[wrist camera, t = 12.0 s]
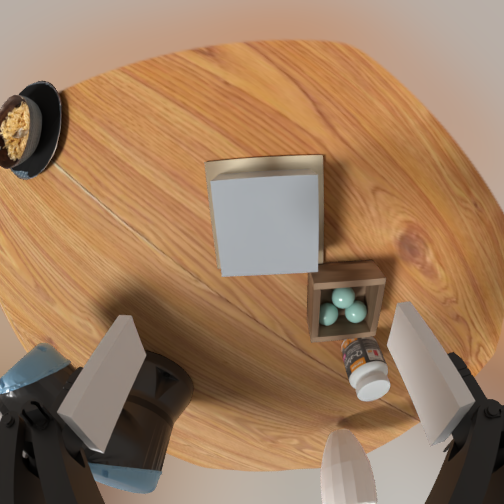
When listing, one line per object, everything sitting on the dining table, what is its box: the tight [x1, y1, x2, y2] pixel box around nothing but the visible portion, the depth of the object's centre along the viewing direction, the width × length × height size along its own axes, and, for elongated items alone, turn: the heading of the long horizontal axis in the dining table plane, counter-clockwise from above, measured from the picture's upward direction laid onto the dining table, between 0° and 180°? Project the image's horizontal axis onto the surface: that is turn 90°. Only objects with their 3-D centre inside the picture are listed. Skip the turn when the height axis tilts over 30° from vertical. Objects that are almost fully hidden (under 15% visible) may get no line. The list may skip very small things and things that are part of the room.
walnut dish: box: [307, 260, 386, 343], centre depth 33 cm, size 9×9×5 cm
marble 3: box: [345, 300, 367, 323], centre depth 34 cm, size 3×3×3 cm
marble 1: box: [319, 303, 338, 326], centre depth 35 cm, size 3×3×3 cm
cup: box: [321, 429, 377, 504], centre depth 39 cm, size 10×10×22 cm
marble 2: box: [332, 287, 355, 309], centre depth 33 cm, size 3×3×3 cm
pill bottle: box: [341, 336, 390, 401], centre depth 35 cm, size 6×6×10 cm
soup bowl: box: [0, 81, 62, 180], centre depth 25 cm, size 15×16×7 cm
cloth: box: [204, 155, 324, 269], centre depth 32 cm, size 13×13×1 cm
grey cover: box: [210, 169, 319, 277], centre depth 29 cm, size 10×10×5 cm
